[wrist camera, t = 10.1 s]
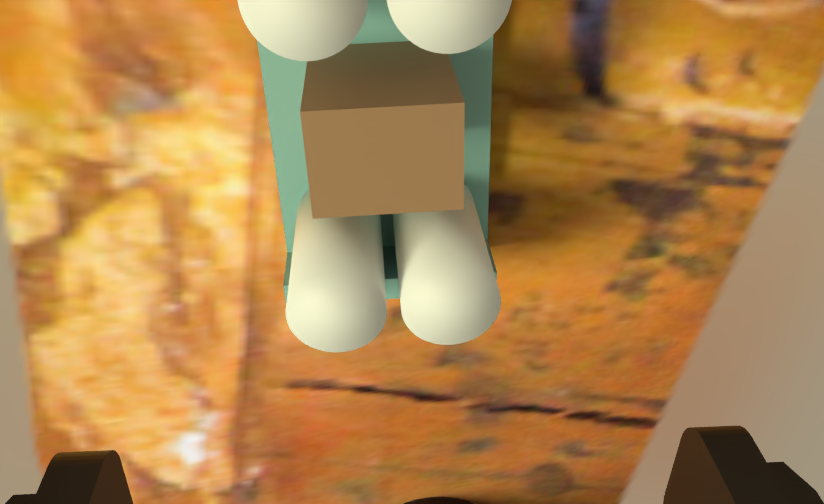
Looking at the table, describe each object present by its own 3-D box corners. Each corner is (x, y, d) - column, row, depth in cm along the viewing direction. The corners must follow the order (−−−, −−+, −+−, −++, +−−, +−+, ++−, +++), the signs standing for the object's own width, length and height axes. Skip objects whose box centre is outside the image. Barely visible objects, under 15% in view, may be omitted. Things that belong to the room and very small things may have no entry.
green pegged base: (236, -145, 21) (195, -110, 15) (492, -156, 21) (542, -125, 15) (292, 255, 28) (277, 377, 22) (482, 243, 28) (515, 361, 23)
